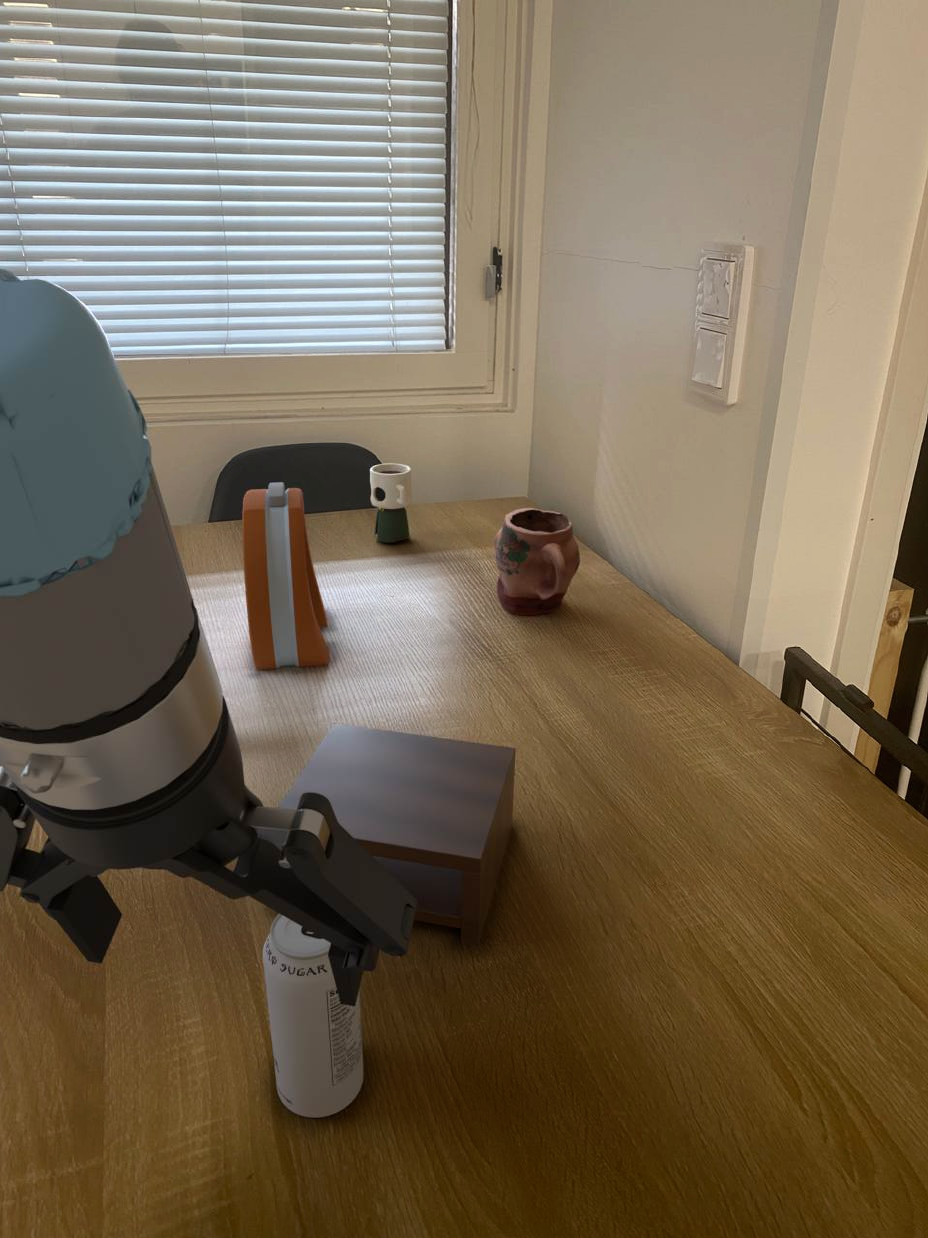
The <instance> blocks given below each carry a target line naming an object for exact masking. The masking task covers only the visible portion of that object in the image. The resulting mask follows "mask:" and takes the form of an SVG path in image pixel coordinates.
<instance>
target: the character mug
mask: <svg viewBox="0 0 928 1238" xmlns="http://www.w3.org/2000/svg"><path fill="white" fill-rule="evenodd" d="M369 483H370V494H371V495H370V503H371V506H373V507H376V508H377V510H376V515H375V516H376V517H375V526H374V536H373V537H374V538H375V539H376V540H377V541H378V542H380V543H381V542H382V543H397V542H399V541H403V540H407V539H408V538H410V527H409V520H408V514H407V510H406V508H405V507H407V506H410V505H411V503H412V500H413V499H412V498H413V497H412V468H411V467H410V466H409V465H406V464H402V463H395V462H394V463H391V462H390V463H380V464H376V465H373V466H371V467H370V469H369Z"/></svg>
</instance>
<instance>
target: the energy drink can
mask: <svg viewBox="0 0 928 1238" xmlns="http://www.w3.org/2000/svg"><path fill="white" fill-rule="evenodd" d="M330 945H331V943H330V942H328V941H326V940H325V939H323V938H321V937H319V936H318V935H316V934H314V933H312V932H311V931H309V930H307V929H305V928H304V927H302V926H300V925H299V924H297V923H295V922H293V921H292V920H290V919H288V918H286V917H285V916H283V915H281V914H279V913H278V914H277V915H276V916H275V918H274V919H273V921H272V922H271V926H270V930H269V934H268V936H267V938H266V940H265V941H264V944H263V948H262V964H263V972H264V981H265V990H266V999H267V1010H268V1017H269V1019H268V1020H269V1026H270V1027H269V1029H270V1036H271V1037H270V1038H271V1046H272V1057H273V1064H274V1075H275V1084H276V1090H277V1094H278V1097H279V1100H280V1101H281V1103H282V1104H283V1105H284V1106H285V1107H286V1108H287V1109H288V1110H289V1111H291V1112H292V1113H294V1114H296V1115H299V1116H301V1117H304V1118H305V1117H306V1118H313V1119H315V1118H316V1119H317V1118H325V1117H329V1116H331V1115H334V1114H337V1113H338V1112H341V1111H342V1110H344V1109H345V1108H346V1107H348V1106H349V1105H350V1104H351V1103H352V1102H353V1101H354V1100H355V1099H356V1097H357V1096H358V1094H359V1093H360V1091H361V1088H362V1086H363V1082H364V1056H363V1055H364V1054H363V1034H362V1032H363V1031H362V1012H361V1010H362V1009H361V991H360V988H361V987H360V988H359V992H358V996H357V1001H356V1005H355V1006H349V1005H343V1004H341V1003H340V999H339V995H338V992H337V988H336V984H335V980H334V976H333V973H332V969H331V965H330V961H329V957H328V952H329V948H330Z"/></svg>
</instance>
